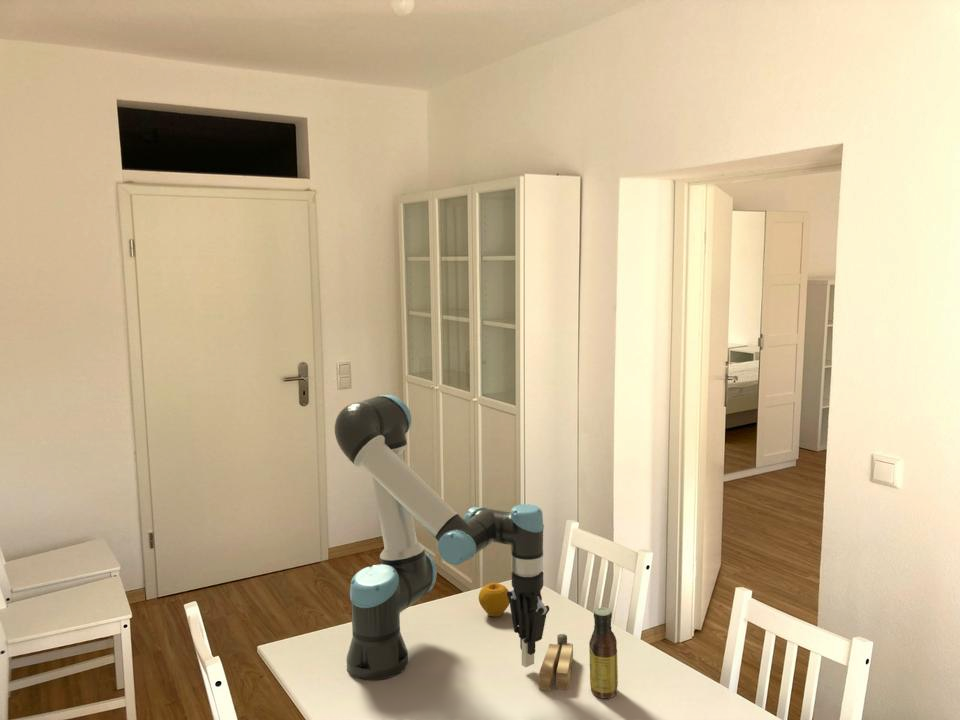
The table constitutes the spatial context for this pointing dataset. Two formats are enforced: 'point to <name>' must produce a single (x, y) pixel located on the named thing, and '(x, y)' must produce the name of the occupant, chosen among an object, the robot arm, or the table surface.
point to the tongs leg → (549, 667)
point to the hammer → (564, 662)
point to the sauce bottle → (603, 655)
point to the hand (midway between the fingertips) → (527, 664)
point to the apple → (494, 599)
